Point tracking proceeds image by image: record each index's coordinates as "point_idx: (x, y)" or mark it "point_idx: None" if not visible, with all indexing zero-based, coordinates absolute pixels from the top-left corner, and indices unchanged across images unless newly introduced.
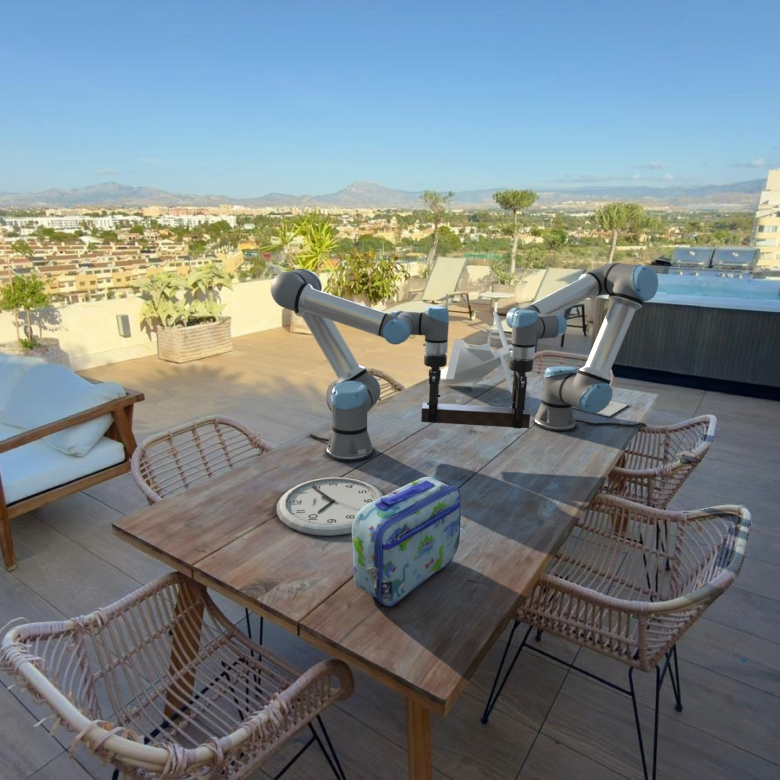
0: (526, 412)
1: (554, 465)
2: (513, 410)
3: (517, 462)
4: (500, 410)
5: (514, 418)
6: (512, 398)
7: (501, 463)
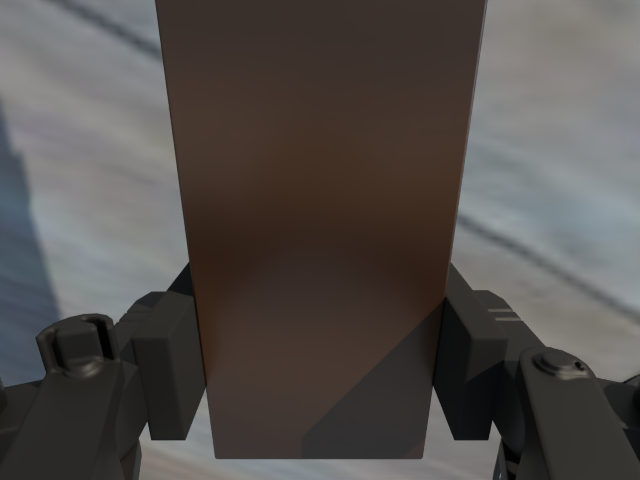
0: (273, 432)
1: None
2: (319, 302)
3: (154, 199)
4: (281, 106)
5: (182, 275)
6: (596, 382)
7: (112, 105)
